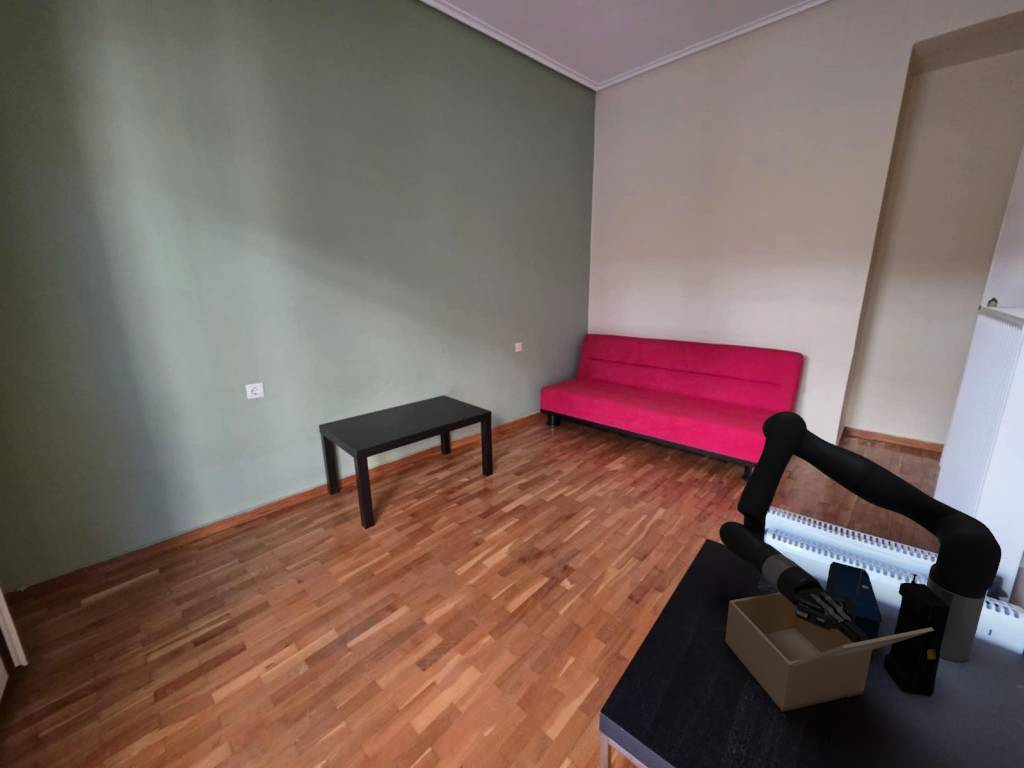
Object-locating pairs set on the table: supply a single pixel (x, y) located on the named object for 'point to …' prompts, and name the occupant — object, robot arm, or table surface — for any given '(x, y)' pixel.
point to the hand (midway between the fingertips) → (863, 641)
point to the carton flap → (862, 646)
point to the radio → (856, 596)
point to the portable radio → (917, 639)
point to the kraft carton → (792, 653)
